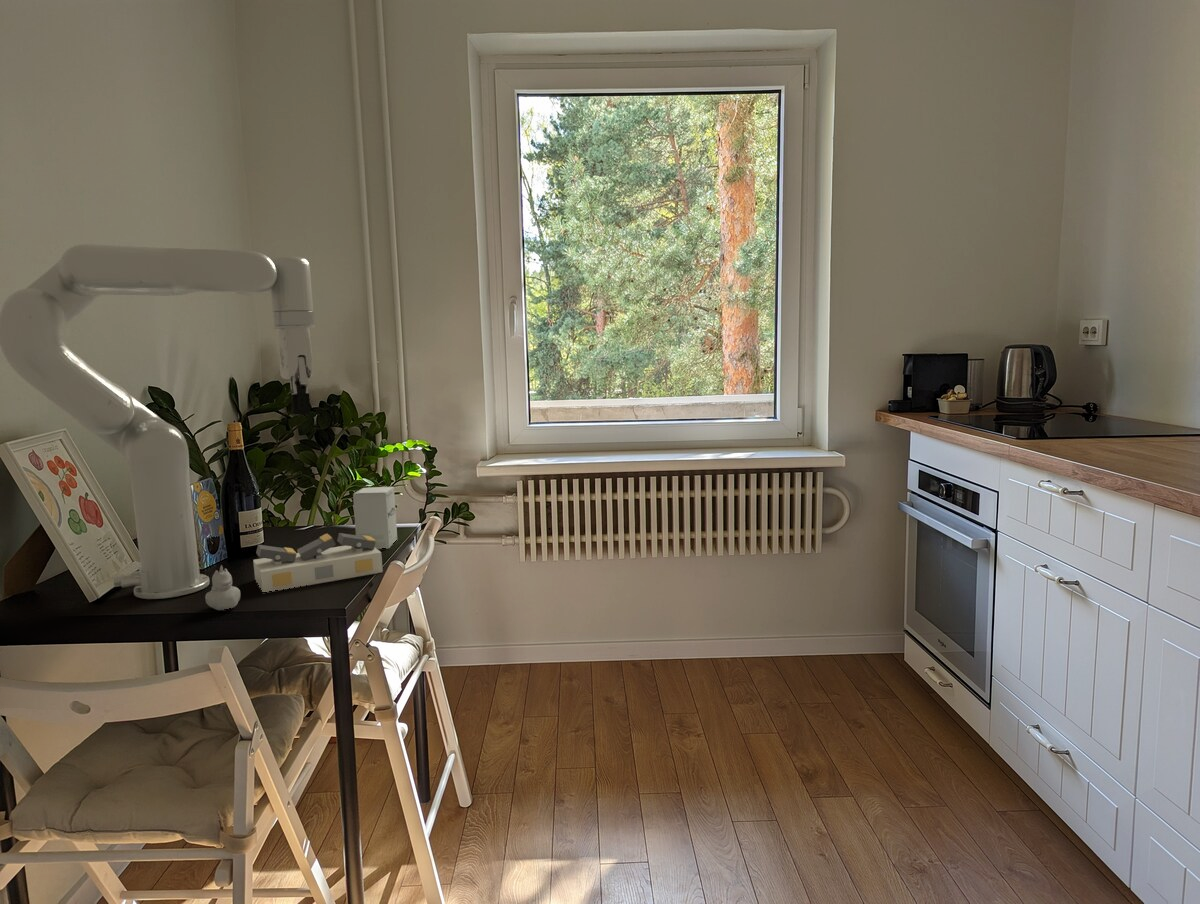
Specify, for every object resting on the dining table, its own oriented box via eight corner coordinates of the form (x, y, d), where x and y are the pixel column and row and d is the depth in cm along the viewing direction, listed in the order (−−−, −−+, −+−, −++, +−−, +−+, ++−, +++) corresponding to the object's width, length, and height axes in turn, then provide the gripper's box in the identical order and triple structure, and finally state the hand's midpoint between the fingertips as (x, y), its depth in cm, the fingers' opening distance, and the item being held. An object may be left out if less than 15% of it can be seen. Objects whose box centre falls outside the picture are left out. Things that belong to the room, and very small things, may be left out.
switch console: (263, 593, 148) (260, 569, 147) (255, 579, 156) (252, 556, 156) (383, 572, 158) (381, 549, 158) (369, 560, 167) (367, 539, 167)
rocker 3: (342, 545, 157) (344, 536, 157) (336, 540, 161) (338, 531, 161) (374, 549, 160) (376, 540, 160) (368, 544, 164) (370, 536, 164)
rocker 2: (304, 561, 154) (300, 553, 153) (300, 556, 157) (296, 548, 157) (336, 545, 156) (332, 537, 156) (331, 540, 160) (327, 532, 160)
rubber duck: (214, 616, 136) (209, 570, 135) (201, 608, 141) (196, 563, 139) (247, 608, 139) (242, 563, 138) (233, 600, 144) (228, 556, 143)
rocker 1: (259, 557, 149) (261, 548, 149) (255, 552, 153) (258, 543, 153) (295, 562, 153) (297, 553, 153) (290, 557, 157) (292, 548, 157)
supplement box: (389, 549, 176) (385, 492, 174) (355, 550, 176) (351, 493, 175) (398, 540, 184) (394, 486, 182) (366, 541, 184) (362, 486, 182)
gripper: (268, 322, 164) (275, 412, 167) (280, 320, 151) (288, 418, 154) (306, 322, 168) (313, 410, 170) (321, 319, 155) (328, 415, 157)
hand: (301, 413), depth 162 cm, fingers closed
